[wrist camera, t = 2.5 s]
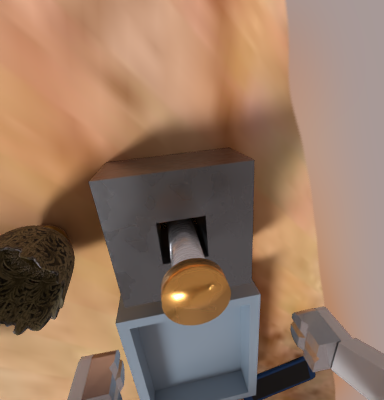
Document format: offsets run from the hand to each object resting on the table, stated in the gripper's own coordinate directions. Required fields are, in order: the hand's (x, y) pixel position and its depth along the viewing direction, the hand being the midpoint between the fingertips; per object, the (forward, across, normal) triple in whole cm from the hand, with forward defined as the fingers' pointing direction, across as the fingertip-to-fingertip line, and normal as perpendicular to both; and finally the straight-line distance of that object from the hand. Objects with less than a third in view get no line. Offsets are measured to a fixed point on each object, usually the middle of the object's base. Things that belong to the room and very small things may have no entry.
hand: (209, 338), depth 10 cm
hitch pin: (+15, 0, 0) cm, 15 cm away
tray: (+14, 0, -20) cm, 25 cm away
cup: (+15, -13, -2) cm, 20 cm away
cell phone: (+15, +14, -36) cm, 42 cm away
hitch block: (+15, 0, 0) cm, 15 cm away
